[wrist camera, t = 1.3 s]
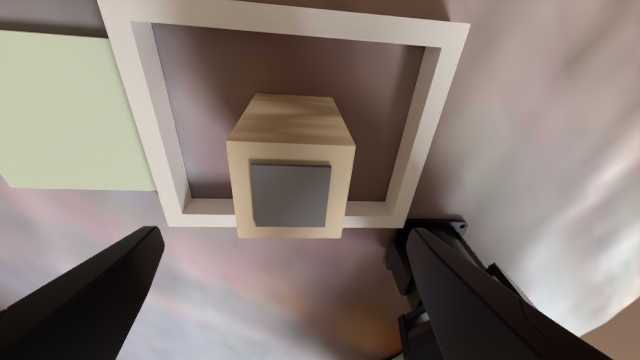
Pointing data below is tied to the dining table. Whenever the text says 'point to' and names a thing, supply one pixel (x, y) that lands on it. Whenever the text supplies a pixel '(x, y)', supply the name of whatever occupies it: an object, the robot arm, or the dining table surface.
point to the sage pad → (67, 116)
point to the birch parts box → (290, 167)
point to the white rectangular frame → (223, 12)
